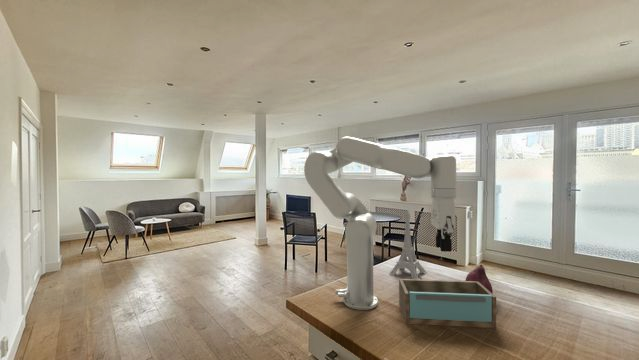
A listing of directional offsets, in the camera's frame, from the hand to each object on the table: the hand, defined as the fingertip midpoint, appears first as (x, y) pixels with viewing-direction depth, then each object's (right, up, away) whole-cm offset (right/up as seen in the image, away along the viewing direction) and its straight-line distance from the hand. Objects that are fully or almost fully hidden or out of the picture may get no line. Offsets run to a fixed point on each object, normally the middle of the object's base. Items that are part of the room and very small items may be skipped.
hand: (443, 248), depth 89 cm
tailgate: (0, -21, -6) cm, 21 cm away
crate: (0, -22, 0) cm, 22 cm away
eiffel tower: (+1, -22, +39) cm, 44 cm away
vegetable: (+19, -22, +13) cm, 32 cm away
